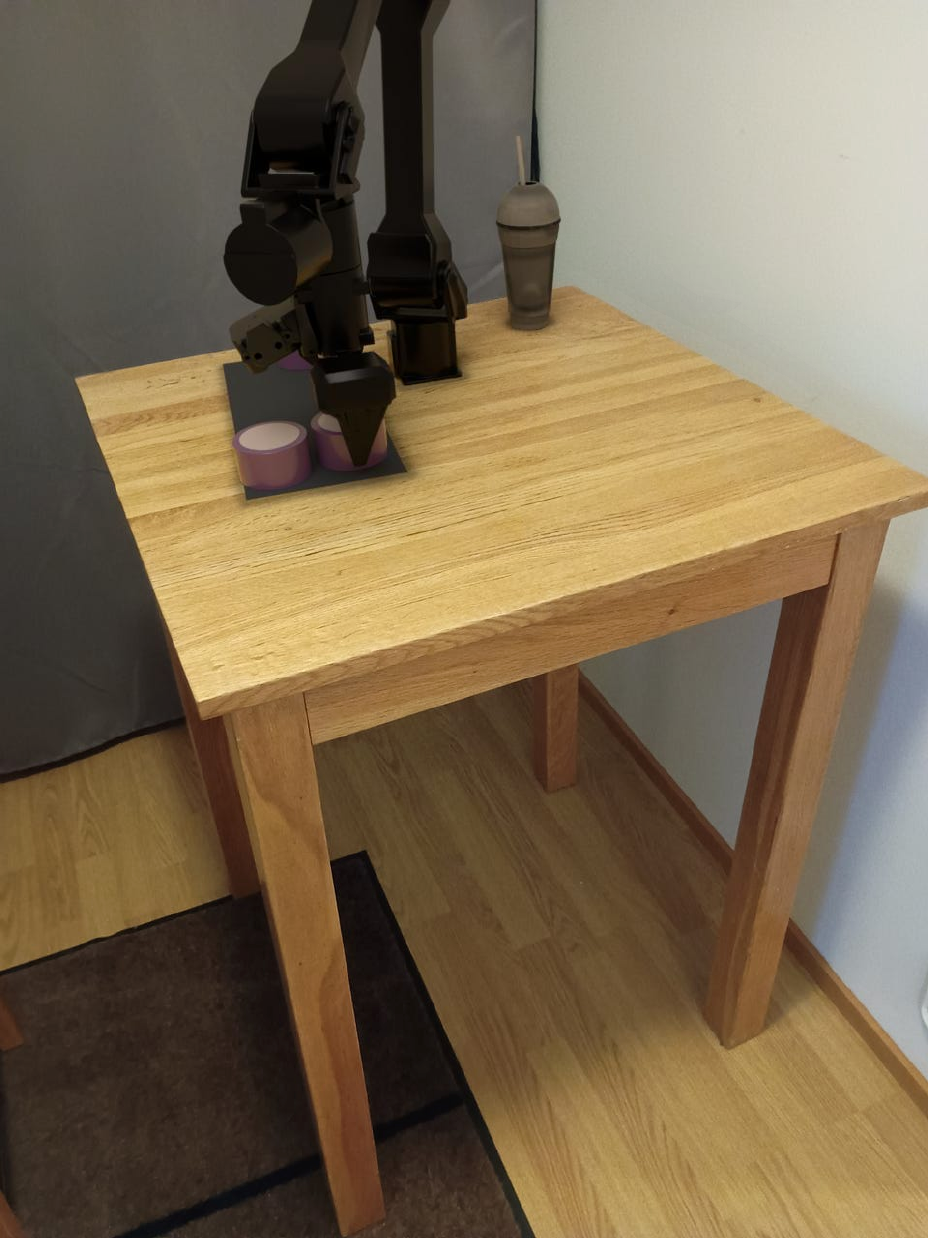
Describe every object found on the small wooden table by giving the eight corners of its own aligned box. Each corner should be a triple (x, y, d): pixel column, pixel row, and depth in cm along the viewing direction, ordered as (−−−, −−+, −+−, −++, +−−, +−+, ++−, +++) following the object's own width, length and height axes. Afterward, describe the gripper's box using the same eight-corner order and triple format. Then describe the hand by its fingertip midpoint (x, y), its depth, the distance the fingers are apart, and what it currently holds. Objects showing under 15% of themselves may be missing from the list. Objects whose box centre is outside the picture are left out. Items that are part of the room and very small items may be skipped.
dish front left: (380, 434, 87) (376, 398, 85) (394, 464, 82) (390, 426, 80) (312, 445, 86) (306, 409, 84) (322, 476, 81) (316, 439, 79)
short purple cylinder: (329, 345, 107) (324, 314, 105) (338, 365, 102) (333, 333, 100) (273, 353, 106) (267, 322, 104) (279, 374, 101) (273, 342, 98)
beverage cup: (538, 338, 106) (536, 144, 94) (486, 327, 110) (479, 140, 98) (572, 319, 110) (574, 132, 98) (521, 309, 114) (518, 128, 102)
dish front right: (308, 451, 85) (302, 415, 83) (318, 483, 80) (311, 445, 78) (237, 463, 84) (228, 426, 82) (242, 496, 79) (234, 458, 77)
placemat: (345, 347, 107) (345, 345, 107) (407, 474, 81) (407, 471, 81) (223, 366, 104) (222, 363, 104) (246, 503, 78) (246, 499, 78)
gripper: (217, 248, 80) (252, 416, 89) (232, 314, 65) (272, 507, 75) (344, 232, 82) (365, 398, 91) (387, 293, 67) (406, 483, 77)
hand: (350, 443), depth 83 cm, fingers open, 9 cm apart
